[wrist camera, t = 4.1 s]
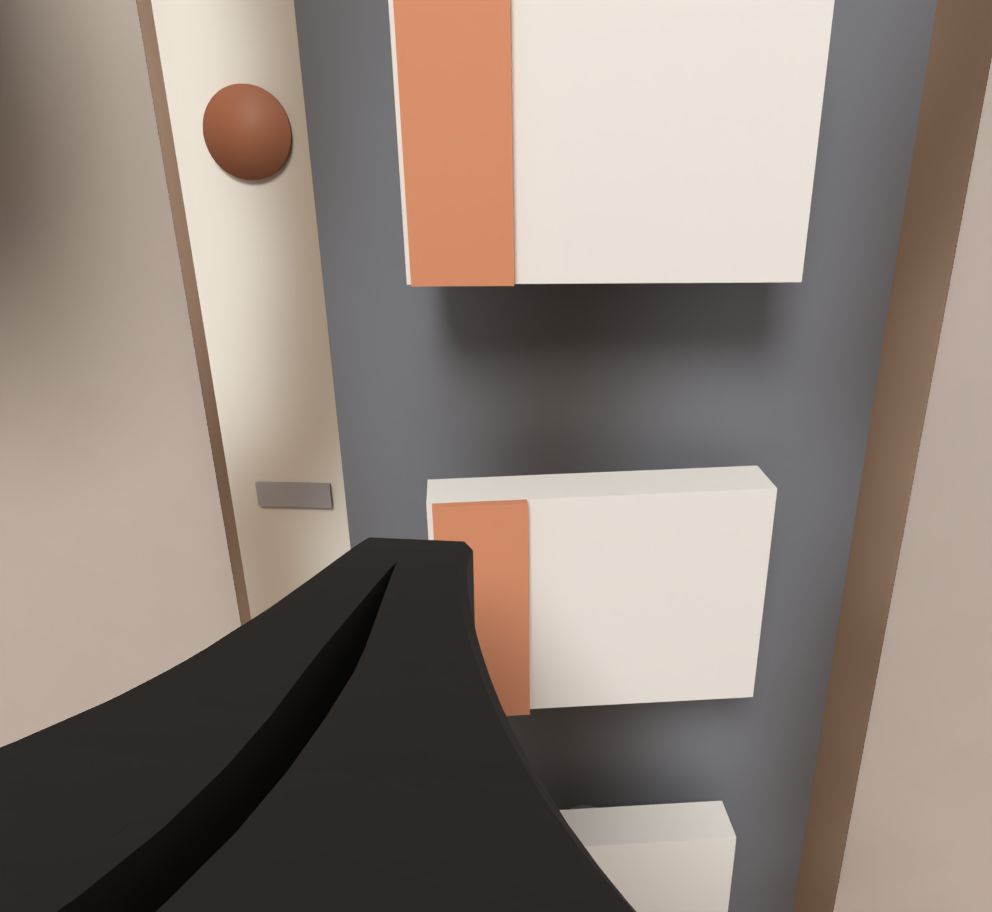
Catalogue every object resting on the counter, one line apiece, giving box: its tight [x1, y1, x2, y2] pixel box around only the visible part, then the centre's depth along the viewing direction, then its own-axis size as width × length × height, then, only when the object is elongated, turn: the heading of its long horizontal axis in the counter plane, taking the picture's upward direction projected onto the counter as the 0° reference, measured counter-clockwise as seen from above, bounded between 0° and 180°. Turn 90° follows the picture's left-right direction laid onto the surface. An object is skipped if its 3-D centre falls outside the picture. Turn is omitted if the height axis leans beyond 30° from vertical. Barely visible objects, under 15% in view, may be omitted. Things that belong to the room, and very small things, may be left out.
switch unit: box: [136, 0, 992, 912], centre depth 18 cm, size 16×26×3 cm, turn 1°
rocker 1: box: [388, 0, 835, 287], centre depth 12 cm, size 6×4×2 cm
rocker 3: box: [559, 801, 736, 912], centre depth 19 cm, size 6×4×2 cm
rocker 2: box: [426, 466, 777, 716], centre depth 16 cm, size 6×4×2 cm
